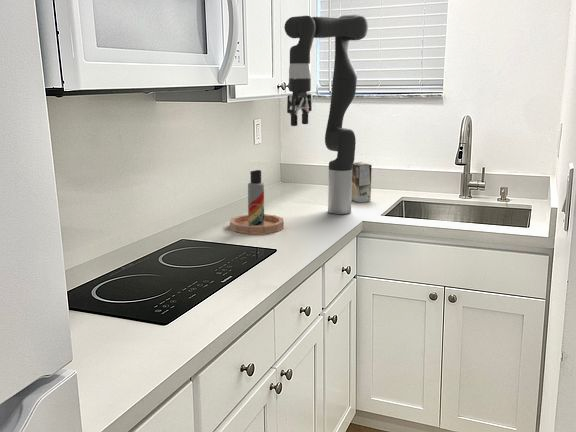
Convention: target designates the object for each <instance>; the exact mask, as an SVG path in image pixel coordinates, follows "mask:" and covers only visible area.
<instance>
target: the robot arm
mask: <svg viewBox="0 0 576 432" xmlns="http://www.w3.org/2000/svg"><path fill="white" fill-rule="evenodd" d="M283 27H284V32H285V34H286V35H287V36H288V37H289V38H291V39H299V40H298V43H296V45H293V46H291V47H290V49H289V66H288V67H289V68H288V91H289V92H290V93H292V94H288V95H287V99H286V100H287V103H286V106H287V109H286V111H287V112H286V113H287V114H289V115H290V126H291V127H297V126H298V113H299V110H300V111H301V124H302V125H308V124H309V113H310V112H312V109H313V108H312V105H313V104H312V94H311V93H309V92H311V91H312V90H311V87H312V84H311V83H312V82H311V80H312V78H311V77H312V71H311V49H312V46H313V42H314V39H324V38H326V39H327V38H334V64H333V74H332V82H331V94H330V95H331V97H330V105H329V114H328V119H327V124H326V129H325V135H324V143H325V147H326V149H327V150H328V151H333V152H337V155H336V158H335V159H333V160H330V161H329V163H328V179H327V180H328V182H327V183H328V185H327V188H328V190H327V191H328V192H327V193H328V194H327V197H328V198H327V201H328V202H327V209H328V210H327V212H328V213H330V214H334V215H346V214H350V213H352V200H351V196H352V165H353V163H355V156H356V155H355V154H356V143H357V141H356V140H357V139H356V135H355V132H354V130H352V128H347V127H346V128H345V127H343V121H344V117H345V114H346V111H347V110H348V108H349V107H350V105H351V103H352V102H353V101H354V98H355V95H356V91H357V81H358V77H357V76H358V75H357V72H356V69H355V67H354V65H353V62H352V61H351V57H350V54H349V53H350V51H349V49H350V48H349V47H350V46H349V45H350V44H349V43H350V41H361V40H362V39H364V38H365V37H366V36H367V34H368V31H369V24H368V20H367V18H366V17H365V16H364V15H361V14H345V15H341V16H339V17H327V16H310V15H299V16H291V17H289V18H287V20H286V21H285V22H284V26H283Z"/></svg>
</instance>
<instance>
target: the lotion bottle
mask: <svg viewBox="0 0 576 432" xmlns="http://www.w3.org/2000/svg"><path fill="white" fill-rule="evenodd" d="M249 173H250V182H249V183H247V210H248V211H247V215H248V224H249V226H263V225H264V214H265V184H264V182H262V170H260V169H255V170H251V171H249Z"/></svg>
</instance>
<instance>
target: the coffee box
mask: <svg viewBox="0 0 576 432" xmlns="http://www.w3.org/2000/svg"><path fill="white" fill-rule="evenodd" d="M372 167H373V166H372V164H369V163H365V162H354V163H353V165H352V196H351V201H354V202H356V203H367V201H369V202H371V197H372V170H373V169H372Z"/></svg>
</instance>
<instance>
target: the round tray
mask: <svg viewBox="0 0 576 432" xmlns="http://www.w3.org/2000/svg"><path fill="white" fill-rule="evenodd" d="M284 224H285V222H284V218H283V217H281V216H278V215H275V214H268V213H267V214H266V213H264V225H263V226H249V224H248V214H241V215H237V216H234V217H232V218H230V220H229V228H230V230H232V231H233V232H235V233H238V234H246V235H266V234H273V233H277V232H280V231H282V230H283V229H284V226H285V225H284Z"/></svg>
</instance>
